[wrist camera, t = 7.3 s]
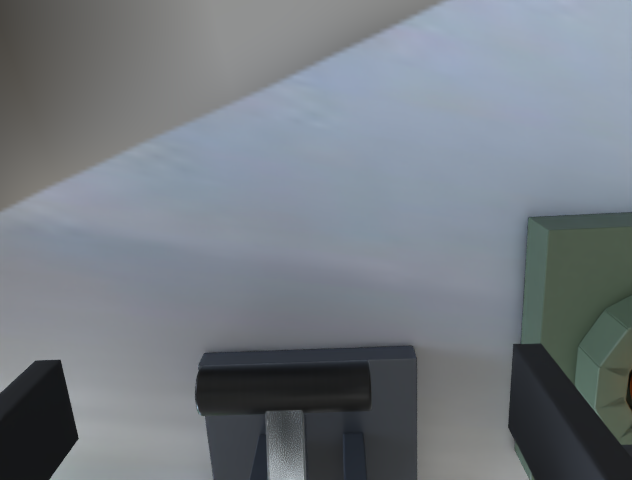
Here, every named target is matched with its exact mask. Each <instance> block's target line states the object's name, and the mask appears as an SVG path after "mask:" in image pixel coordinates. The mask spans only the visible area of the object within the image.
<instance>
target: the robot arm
mask: <svg viewBox="0 0 632 480" xmlns="http://www.w3.org/2000/svg"><path fill="white" fill-rule="evenodd" d="M508 428H509V430H510V432H511V434H512V436H513V437H514V439H515V441H516V443H517V445H518V447H519V449H520V451H521V453H522V455H523V457H524V459H525V461H526V463H527V465H528V467H529V469H530V471H531V473H532V475H533V477H534V479H535V480H632V445H621V444H620V442H619V441H618V440H617V439H616V437H615V436H614V435H613V434H612V432H611V431H610V430H609V429H608V427H607V426H606V425H605V424H604V422H603V421H602V420H601V418H600V417H599V416H598V415H597V413H596V412H595V411H594V410H593V408H592V407H591V406H590V405H589V403H588V402H587V401H586V399H585V398H584V397H583V396H582V394H581V393H580V392H579V391H578V389H577V388H576V387H575V386H574V384H573V383H572V382H571V381H570V379H569V378H568V377H567V375H566V374H565V373H564V372H563V370H562V369H561V368H560V367H559V365H558V364H557V363H556V362H555V360H554V359H553V358H552V357H551V355H550V354H549V353H548V351H547V350H546V349H545V348H544V346H543V345H542V344H541V343H535V344H513V358H512V375H511V391H510V408H509V424H508ZM78 439H79V438H78V434H77V429H76V425H75V421H74V416H73V412H72V408H71V403H70V399H69V394H68V390H67V386H66V381H65V377H64V373H63V368H62V364H61V360H41V361H34V362H33V363H32V364H31V365H30V366H29V367H28V368H27V369H26V370H25V371H24V372H23V373H22V374H21V375H19V376H18V377H17V378H16V379H15V380H14V381H13V382H12V383H11V384H10V385H9V386H8V387H7V388H5V389H4V390H3V391H2V392H1V393H0V480H49V479H50V478H51V476H52V475H53V473H54V472H55V471H56V469H57V468H58V467H59V465H60V464H61V462H62V461H63V460H64V458H65V457H66V455H67V454H68V453H69V451H70V450H71V448H72V447H73V446H74V444H75V443H76V441H77V440H78Z"/></svg>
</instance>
